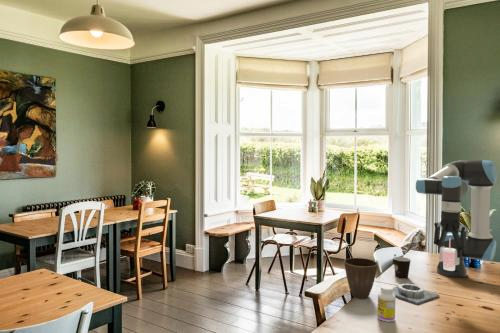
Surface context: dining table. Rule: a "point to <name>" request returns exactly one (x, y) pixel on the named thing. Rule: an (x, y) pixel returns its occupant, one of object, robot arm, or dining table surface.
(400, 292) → the sleeve block
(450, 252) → the beverage cup
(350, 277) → the plant pot
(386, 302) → the supplement bottle
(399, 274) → the coffee mug
